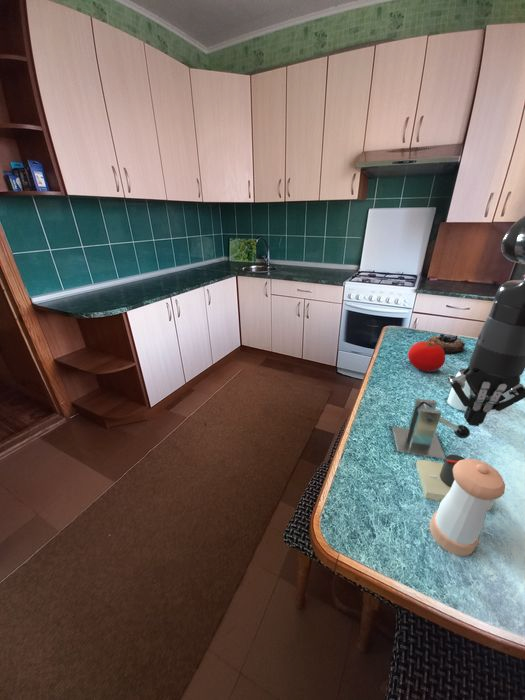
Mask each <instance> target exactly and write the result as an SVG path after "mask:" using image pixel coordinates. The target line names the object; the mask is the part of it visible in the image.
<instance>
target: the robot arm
mask: <svg viewBox="0 0 525 700" xmlns="http://www.w3.org/2000/svg"><path fill="white" fill-rule="evenodd" d="M500 251H501V253H502V255H503V256H504V257H505V258H506V259H507V260H508V261H510V262H513V263H517V264H521V265H525V215H524V216H521V218H519V219H518V220H517V221H516V222H515V223H513V224H512V225H511V226H510V227H509V228H508V230H507V231H506V232H505V234H504V236H503V237H502V240H501V243H500ZM464 369H465V370H464V372H463V375H460V376H458V377H456V376H454V375H449V376H448V377H447V380H448V383H449V384H450V386H451V388H452V387H453V389H454V391H455V392H456V394H457V396H458V397H459V399H460V400H461V402H462V404H463V405H464V406H465V407H467V409H466V411H464V415H463V416H464V417H463V418H464V419H465V421H466V423H467V424H468V426H471V427H473V426H474V427H479V426H480V425H482V424H483V423H484V421H485V419H486V416H487V415H488V413H490V412H491V411H494V410H495V411H496V412H501V411H503V410H505V409H507V408H508V407H511V406H513V405H514V404H516V403H518V402H520V401H522V400H523V399H525V386H524V384H522V383H521V376H522V375H523V373H524V371H525V279H513V280H512V279H511V280H508V281H505V282H503V283H501V284H500V286H499V288H498V289H497V291H496V294H495V295H494V299H493V301H492V304H491V307H490V309H489V312H488V315H487V317H486V319H485V321H484V323H483V325H481V328H480V332H479V333H478V336H477V340H476V342H475V345H474V349H473V351H472V354H471V356H470V359H469V364H468V366H467V367H465V368H464ZM465 381H467V383H468V385H469V387H470V396H469V397H467V396H466V395H465V393H464V391H463V390H462V389H463V388H464V387H465Z"/></svg>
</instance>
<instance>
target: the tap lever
mask: <svg viewBox="0 0 525 700" xmlns="http://www.w3.org/2000/svg"><path fill="white" fill-rule="evenodd" d="M420 409H428V410H434V408H432V407H430V406H428V405H426V404H425V403H424V404H423V405H421V406H420V407H419V408H418V409H417V410H418V412H419V410H420ZM438 423H440V424H442V425H443V426H445V427H447V428H449V429H451V430H452V431H453V434H454V435H455V436H456V437H457V438H459V439H463V440H464V439H467V438H468V437H469V436H470V434H471V430H470V429H469V427H467V426H466V425H464V424H458V425H457V424H456V423H455V424H454V423H453V422H451V421H449V420H448V419H446V418H444V417H442V416H440V419H439V422H438Z"/></svg>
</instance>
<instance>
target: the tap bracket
mask: <svg viewBox="0 0 525 700" xmlns="http://www.w3.org/2000/svg"><path fill="white" fill-rule="evenodd" d="M424 403H425V404H426V405H428V406H430V407H432V408H434V410H428V409H420V410H419V412H418V410H417V409H418V408H419V407H420V406H421V405H423V404H424ZM436 407H437V401H436V400H432V399H423V398H416V399H415V402H414V405H413V409H412V412H411V416H410V421H409V423H408V427H407V428H402V427H396V426H392V433H393V438H394V442H395V443H394V444H395V447H396V451H397V452H400V453H405V454H412V455H419V456H423V457H430V458H436V459H441V460H442V459H443V460H445V459H446V457H447V456H446V455H445V452H444V450H443V447H442V445H441V442H440V440H439V436H438V435H437V433H436V430H437V428H438V425H439V423H440V422H439V419H440V416H441V415H442V412H441V410H435V409H436ZM441 417H442V416H441Z"/></svg>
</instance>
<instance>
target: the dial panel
mask: <svg viewBox="0 0 525 700" xmlns="http://www.w3.org/2000/svg"><path fill="white" fill-rule="evenodd" d="M443 464H444V462H439V461H438V462H437V461H432V460H425V459H419V458H418V459H416V463H415V468H416V471H417V476H418V479H419V482H420V486H421V490H422V493H423V498H424V499H425V500H431V501H434V502H435V501H436V502H440V503H441V501H442V500H443V499H444V497H445V496H446V495H447V493H448V492H449V491H450V489H451V487H449V486H447V485H446V484H445V483H444V482H443V481H442V480H441V478H440V472H441V470H442V467H443ZM493 506H494V503H493V501H492V502H491V504H490V506H489V508H488V510H487V512H490V511H491V510H492V508H493Z"/></svg>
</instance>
